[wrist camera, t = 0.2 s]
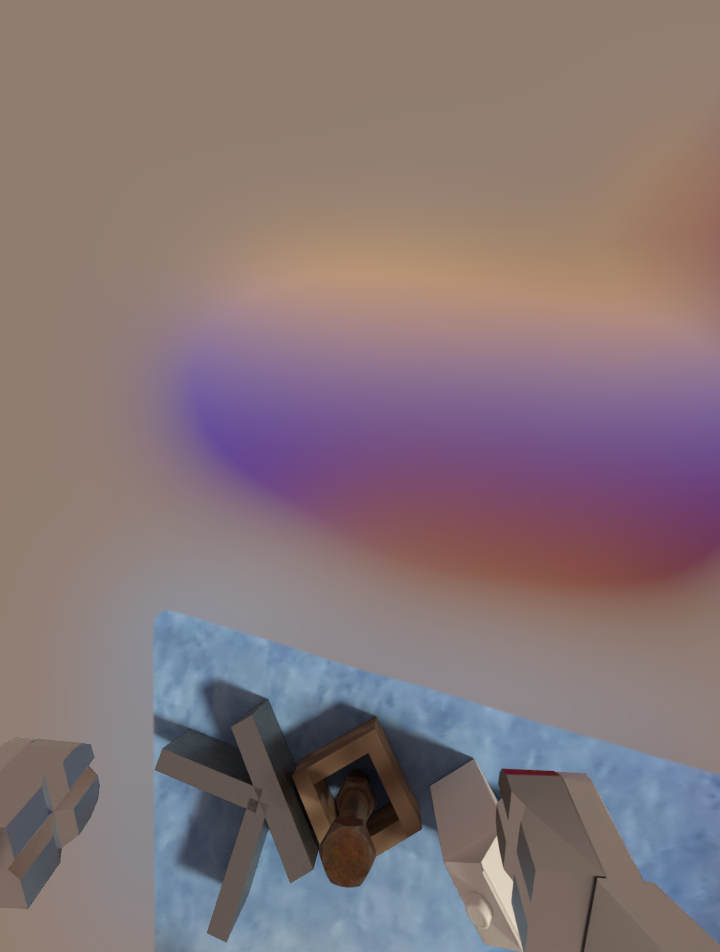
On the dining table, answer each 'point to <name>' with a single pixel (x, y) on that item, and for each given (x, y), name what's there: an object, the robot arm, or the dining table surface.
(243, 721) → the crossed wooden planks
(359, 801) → the bolt
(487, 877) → the milk carton
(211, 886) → the dining table surface
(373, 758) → the bore block
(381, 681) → the dining table surface
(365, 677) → the dining table surface
